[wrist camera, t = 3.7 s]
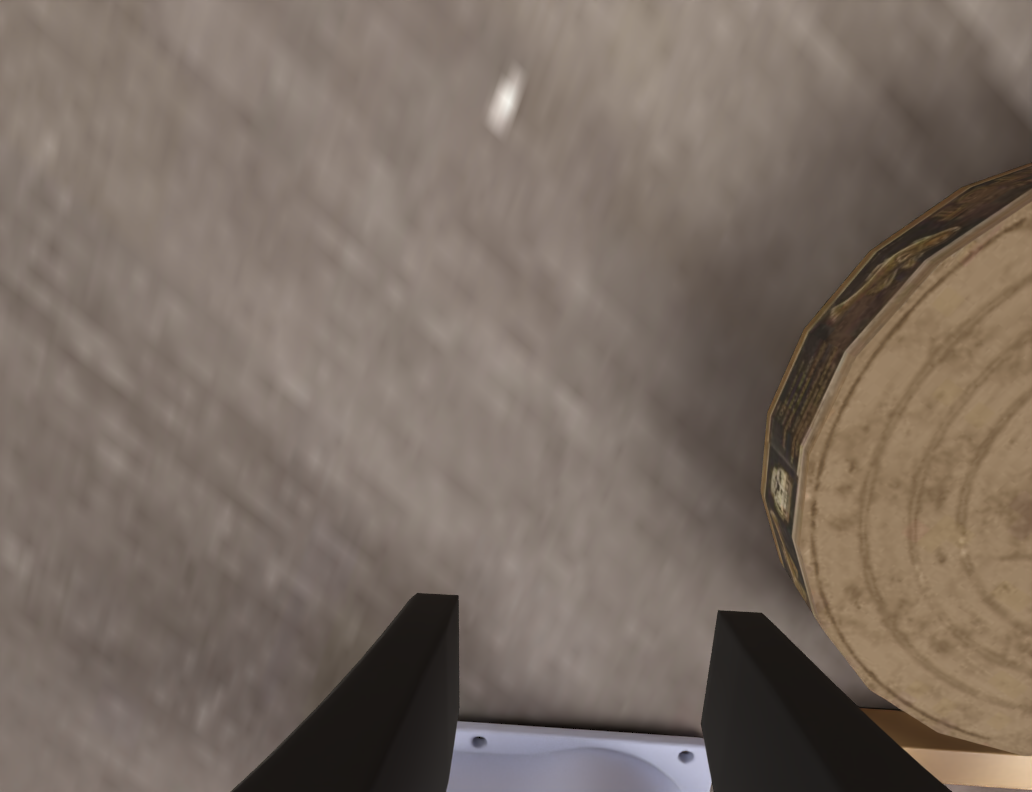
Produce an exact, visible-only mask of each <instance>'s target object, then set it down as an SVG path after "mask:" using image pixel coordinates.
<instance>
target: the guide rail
mask: <svg viewBox="0 0 1032 792" xmlns="http://www.w3.org/2000/svg"><path fill="white" fill-rule="evenodd" d="M860 709H861V710H862V711H863V712H864V713H865V714H866V715H867V716H868V717H869V718H870V719H872V720H873V721H874V722H875V723H876V724H877V725H878V726H879V727H880V728H881V729H882V730H883V731H884V732H885V733H887V734H888V735H889V736H890V737H891V738H892V739H893V740H894V741H895V742H896V743H897V744H898V745H900V746H901V747H902V748H903V749H904V750H905V751H906V752H907V753H908V754H910V755H911V756H912V757H913V758H914V759H915V760H916V761H917V762H918V763H919V764H921V765H922V766H923V767H924V768H925V769H926V770H927V771H929V772H930V773H931V774H932V775H933V776H934V777H935V778H937V779H938V780H939V781H940V782H941V783H942V784H955V785H969V786H983V787H997V788H1011V789H1026V790H1032V756H1022V755H1019V754H1015V753H1011V752H1007V751H1004V750H1000V749H996V748H993V747H989V746H985V745H982V744H978V743H974V742H970V741H967V740H963V739H959V738H956V737H952V736H948V735H945V734H941V733H938V732H936V731H935V730H933V729H931V728H930V727H928V726H927V725H925V724H923V723H922V722H920V721H919V720H917V719H915V718H914V717H912V716H911V715H909V714H908V713H906V712H904V711H899V710H883V709H868V708H860Z"/></svg>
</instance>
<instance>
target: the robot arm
mask: <svg viewBox="0 0 1032 792" xmlns="http://www.w3.org/2000/svg"><path fill="white" fill-rule="evenodd" d="M458 714H459V600H458V595H441V594H424V593H417V594H416V595H414V596H413V597H412V598H411V599H410V600H409V601H408V602H407V603H406V605H405V606H404V607H403V609H402V610H401V611H400V612H399V614H398V615H397V616H396V617H395V619H394V620H393V621H392V622H391V624H390V625H389V626H388V627H387V629H386V630H385V631H384V632H383V633H382V635H381V636H380V637H379V638H378V639H377V641H376V642H375V643H374V644H373V645H372V647H371V648H370V649H369V650H368V651H367V652H366V654H365V655H364V656H363V657H362V658H361V660H360V661H359V662H358V663H357V664H356V665H355V666H354V667H353V668H352V670H351V671H350V672H349V673H348V674H347V675H346V676H345V677H344V678H343V680H342V681H341V682H340V683H339V684H338V685H337V686H336V687H335V688H334V690H333V691H332V692H331V693H330V694H329V695H328V696H327V697H326V698H325V699H324V701H323V702H322V703H321V704H320V705H319V706H318V707H317V708H316V709H315V710H314V711H313V712H312V713H311V714H310V715H309V716H308V717H307V718H306V719H305V720H304V721H303V722H302V723H301V724H300V725H299V726H298V727H297V728H296V729H295V730H294V731H293V732H292V733H291V734H290V735H289V736H288V737H287V738H286V739H285V740H284V741H283V742H282V743H281V744H280V745H279V746H278V747H277V748H276V749H275V750H274V751H273V752H272V753H271V754H270V755H269V756H268V757H267V758H266V759H265V760H264V761H263V762H262V763H261V764H260V765H259V766H258V767H257V768H256V769H255V770H254V771H252V772H251V773H250V774H249V775H248V776H247V777H246V778H245V779H244V780H243V781H242V782H241V783H240V784H239V785H237V786H236V787H235V788H234V789H233V790H232V791H231V792H710V787H711V781H712V785H713V790H714V792H952V791H951V790H949V789H948V788H947V787H946V786H945V785H944V784H942V783H941V782H940V781H939V780H938V779H937V778H935V777H934V776H933V775H932V774H931V773H930V772H929V771H927V770H926V769H925V768H924V767H923V766H922V765H921V764H919V763H918V762H917V761H916V760H915V759H914V758H913V757H912V756H911V755H910V754H908V753H907V752H906V751H905V750H904V749H903V748H902V747H901V746H900V745H898V744H897V743H896V742H895V741H894V740H893V739H892V738H891V737H890V736H889V735H888V734H887V733H885V732H884V731H883V730H882V729H881V728H880V727H879V726H878V725H877V724H876V723H875V722H874V721H873V720H872V719H870V718H869V717H868V716H867V715H866V714H865V713H864V712H863V711H862V710H861V709H860V708H859V707H858V706H857V705H856V704H855V703H854V702H853V701H852V700H851V699H849V698H848V697H847V696H846V695H845V694H844V693H843V692H842V691H841V690H840V689H839V688H838V687H837V686H836V685H835V684H834V683H833V682H832V681H831V680H830V679H829V678H828V677H827V676H826V675H825V674H824V673H823V672H822V671H821V670H820V669H819V668H818V667H817V666H816V665H815V664H814V663H813V662H812V661H811V660H810V659H809V658H808V657H807V656H806V655H805V654H804V653H803V652H802V651H801V650H800V649H799V648H798V647H796V646H795V645H794V644H793V643H792V642H791V641H790V640H789V639H788V638H787V637H786V636H785V635H784V634H783V633H782V632H781V631H780V630H779V629H778V628H777V627H776V626H775V625H774V624H773V623H772V622H771V621H770V620H769V619H768V618H767V617H766V616H765V615H764V614H762V613H754V612H737V611H720V610H718V614H717V621H716V627H715V634H714V640H713V647H712V654H711V660H710V667H709V674H708V680H707V687H706V694H705V700H704V707H703V713H702V720H701V726H702V732H703V737H704V738H699V737H684V736H669V735H655V734H640V733H625V732H611V731H596V730H581V729H567V728H552V727H537V726H523V725H508V724H493V723H479V722H464V721H458ZM479 736H480V737H484V738H482V739H480V738H477V737H479ZM682 751H688V752H684V753H682Z"/></svg>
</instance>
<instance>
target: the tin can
mask: <svg viewBox="0 0 1032 792" xmlns="http://www.w3.org/2000/svg"><path fill="white" fill-rule="evenodd" d="M761 495H762V499H763V503H764V506H765V510H766V513H767V517H768V520H769V524H770V527H771V531H772V534H773V538H774V541H775V545H776V548H777V552H778V555H779V559H780V562H781V563H782V565H783V566H784V568H785V570H786V571H787V573H788V575H789V576H790V578H791V579H792V581H793V583H794V584H795V586H796V587H797V589H798V591H799V592H800V594H801V595H802V597H803V599H804V600H805V602H806V604H807V605H808V607H809V608H810V610H811V612H812V613H813V615H814V616H815V618H816V620H817V621H818V623H819V624H820V626H821V627H822V629H823V630H824V631H825V633H826V634H827V635H828V637H829V638H830V639H831V640H832V642H833V643H834V644H835V646H836V647H837V648H838V650H839V651H840V652H841V654H842V655H843V656H844V657H845V659H846V660H847V661H848V663H849V664H850V665H851V667H852V668H853V669H854V670H855V672H856V673H857V674H858V676H859V677H860V678H861V680H862V681H863V682H864V683H865V685H866V686H867V687H868V689H869V690H871V691H873V692H874V693H876V694H877V695H879V696H880V697H882V698H884V699H885V700H887V701H888V702H890V703H892V704H893V705H895V706H896V707H898V708H900V709H901V710H903V711H904V712H906V713H908V714H909V715H911V716H912V717H914V718H915V719H917V720H919V721H920V722H922V723H923V724H925V725H927V726H928V727H930V728H931V729H933V730H935V731H936V732H938V733H941V734H945V735H948V736H952V737H956V738H959V739H963V740H967V741H970V742H974V743H978V744H982V745H985V746H989V747H993V748H996V749H1000V750H1004V751H1007V752H1011V753H1015V754H1019V755H1022V756H1032V163H1029V164H1026V165H1024V166H1021V167H1018V168H1015V169H1012V170H1009V171H1007V172H1004V173H1001V174H998V175H995V176H992V177H990V178H987V179H984V180H981V181H978V182H975V183H973V184H970V185H967V186H964V187H962V188H960V189H959V190H957V191H956V192H954V193H953V194H952V195H950V196H949V197H947V198H946V199H944V200H943V201H941V202H940V203H939V204H937V205H936V206H934V207H933V208H931V209H930V210H928V211H927V212H926V213H924V214H923V215H921V216H920V217H918V218H917V219H915V220H914V221H913V222H911V223H910V224H908V225H907V226H905V227H904V228H902V229H901V230H900V231H898V232H897V233H895V234H894V235H892V236H891V237H889V238H888V239H886V240H885V241H884V242H882V243H881V244H879V245H878V246H876V247H875V248H873V249H872V250H871V251H869V253H868V254H867V255H866V256H865V257H864V259H863V260H862V261H861V262H860V263H859V265H858V266H857V267H856V268H855V269H854V270H853V272H852V273H851V274H850V275H849V276H848V278H847V279H846V280H845V281H844V282H843V284H842V285H841V286H840V287H839V288H838V289H837V291H836V292H835V293H834V294H833V295H832V297H831V298H830V299H829V300H828V301H827V303H826V304H825V305H824V306H823V307H822V308H821V310H820V311H819V312H818V313H817V314H816V316H815V317H814V318H813V319H812V320H811V321H810V323H809V324H808V325H807V326H806V327H805V329H804V330H803V332H802V335H801V337H800V339H799V342H798V344H797V346H796V348H795V351H794V353H793V355H792V358H791V360H790V362H789V364H788V367H787V369H786V371H785V373H784V376H783V378H782V380H781V383H780V385H779V387H778V389H777V392H776V394H775V396H774V399H773V401H772V403H771V405H770V408H769V410H768V412H767V423H766V434H765V446H764V457H763V469H762V480H761Z"/></svg>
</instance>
